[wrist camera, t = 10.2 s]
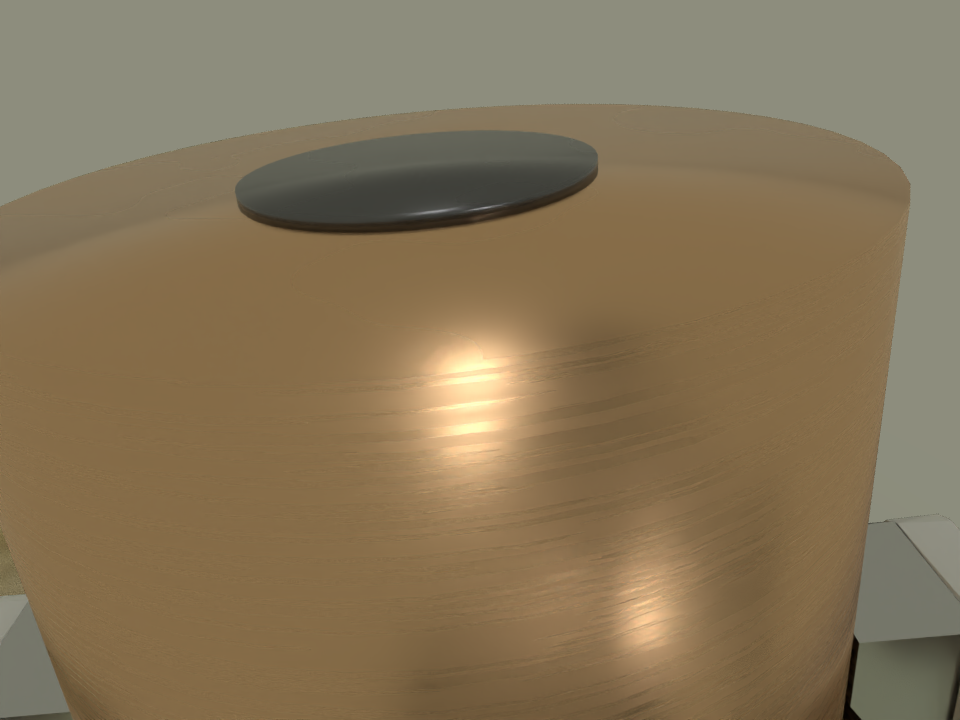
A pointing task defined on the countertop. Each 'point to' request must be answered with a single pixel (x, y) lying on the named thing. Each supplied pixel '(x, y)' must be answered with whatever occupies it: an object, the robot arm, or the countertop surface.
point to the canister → (453, 417)
